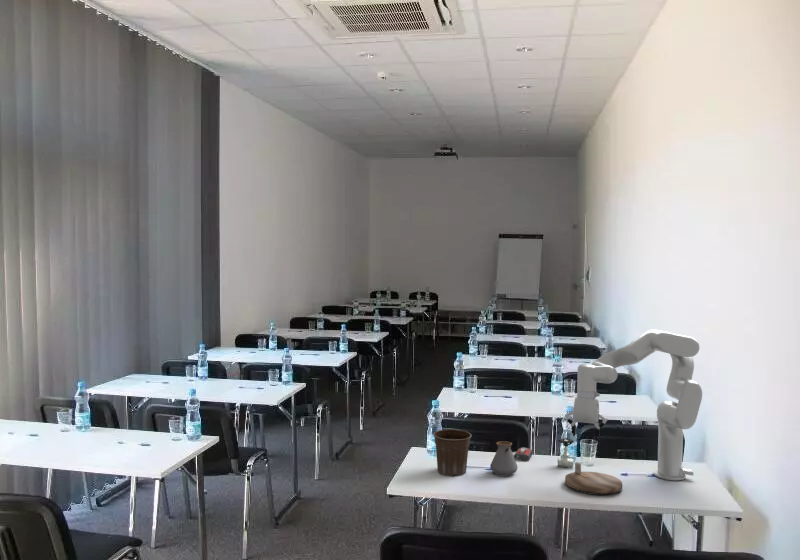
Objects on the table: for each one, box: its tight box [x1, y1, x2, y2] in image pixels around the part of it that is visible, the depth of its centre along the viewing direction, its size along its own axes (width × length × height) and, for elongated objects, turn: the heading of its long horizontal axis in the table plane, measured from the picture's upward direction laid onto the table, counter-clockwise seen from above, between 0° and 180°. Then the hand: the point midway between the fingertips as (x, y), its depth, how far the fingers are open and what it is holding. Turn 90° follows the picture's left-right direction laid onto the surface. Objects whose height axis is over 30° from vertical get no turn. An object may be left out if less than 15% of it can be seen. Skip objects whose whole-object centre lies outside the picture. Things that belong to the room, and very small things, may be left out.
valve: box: [557, 437, 575, 468], centre depth 287 cm, size 7×7×12 cm
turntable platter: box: [564, 461, 623, 495], centre depth 262 cm, size 22×22×6 cm
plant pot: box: [433, 428, 472, 477], centre depth 277 cm, size 16×16×16 cm
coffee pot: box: [490, 440, 518, 477], centre depth 272 cm, size 21×12×15 cm, turn 176°
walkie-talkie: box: [512, 447, 533, 462], centre depth 298 cm, size 9×4×20 cm
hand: (585, 436), depth 269 cm, fingers open, 8 cm apart
